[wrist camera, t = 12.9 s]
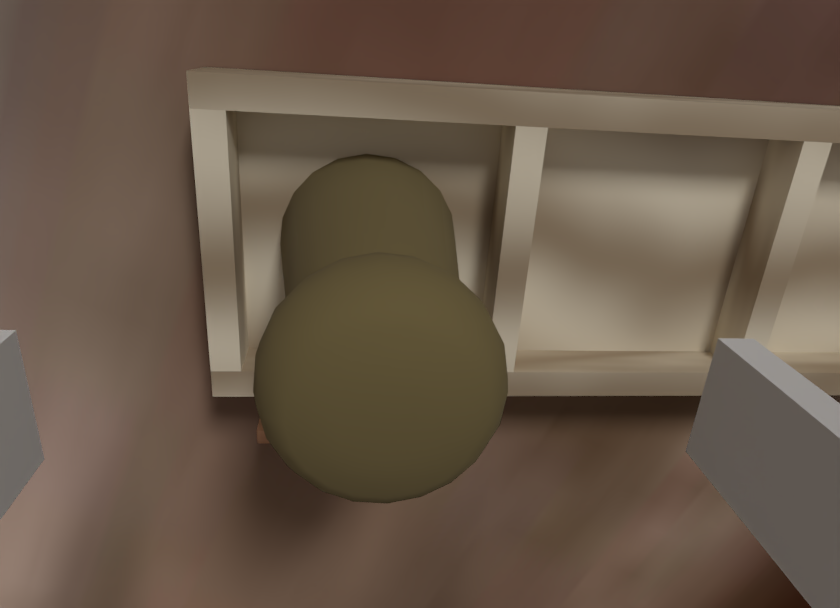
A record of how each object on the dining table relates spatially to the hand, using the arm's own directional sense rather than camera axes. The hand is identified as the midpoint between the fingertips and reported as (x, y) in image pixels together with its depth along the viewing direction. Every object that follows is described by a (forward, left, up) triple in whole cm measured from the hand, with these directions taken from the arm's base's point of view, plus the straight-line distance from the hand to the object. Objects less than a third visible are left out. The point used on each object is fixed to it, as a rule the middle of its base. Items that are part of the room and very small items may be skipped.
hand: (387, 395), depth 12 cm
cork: (0, 0, -10) cm, 10 cm away
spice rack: (0, +9, -11) cm, 14 cm away
